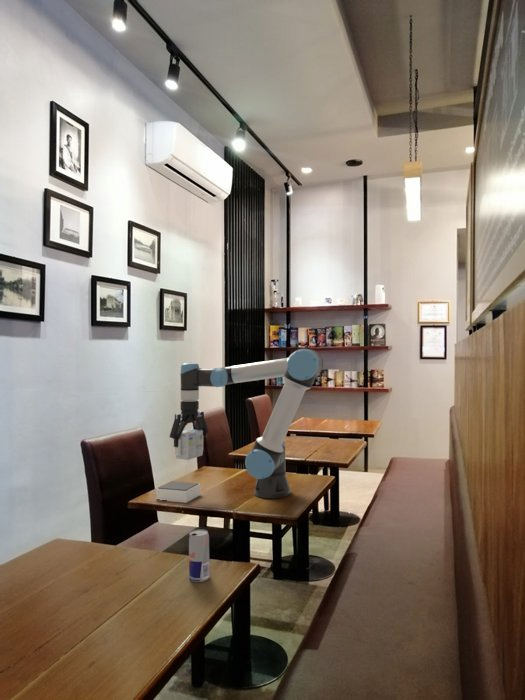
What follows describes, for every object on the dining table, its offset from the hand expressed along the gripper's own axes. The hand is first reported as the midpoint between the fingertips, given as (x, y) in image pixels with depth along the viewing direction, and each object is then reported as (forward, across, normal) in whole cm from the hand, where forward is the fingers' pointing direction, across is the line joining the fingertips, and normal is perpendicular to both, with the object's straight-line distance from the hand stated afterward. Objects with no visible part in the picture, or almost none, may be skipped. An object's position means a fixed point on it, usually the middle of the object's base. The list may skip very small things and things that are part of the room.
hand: (189, 452), depth 208 cm
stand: (+19, +2, -5) cm, 20 cm away
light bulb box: (+2, 0, 0) cm, 2 cm away
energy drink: (+18, +47, +61) cm, 79 cm away
